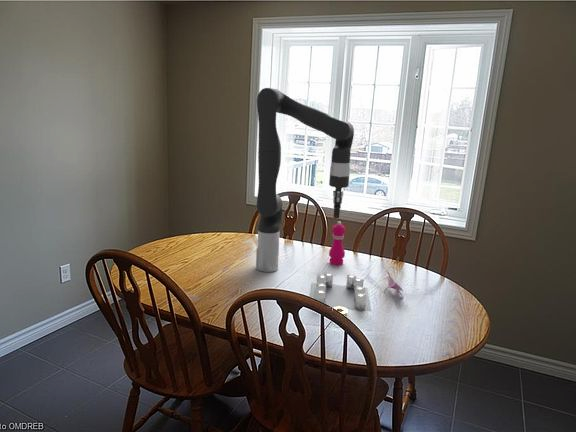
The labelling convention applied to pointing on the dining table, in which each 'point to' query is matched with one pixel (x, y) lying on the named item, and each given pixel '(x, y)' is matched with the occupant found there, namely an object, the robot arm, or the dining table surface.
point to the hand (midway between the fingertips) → (336, 217)
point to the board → (340, 297)
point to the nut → (341, 310)
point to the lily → (393, 284)
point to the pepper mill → (337, 245)
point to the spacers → (351, 284)
